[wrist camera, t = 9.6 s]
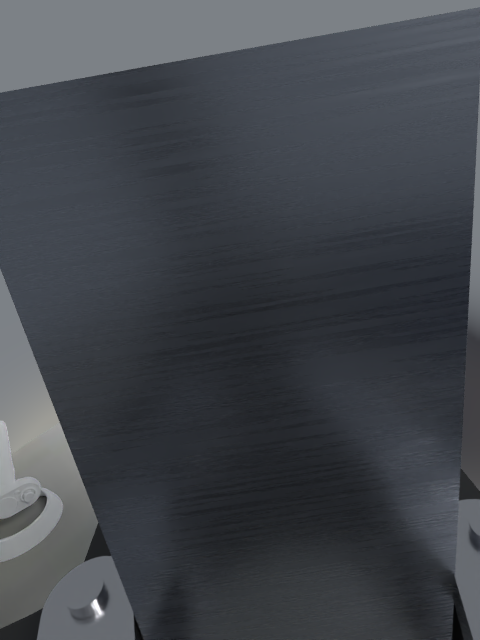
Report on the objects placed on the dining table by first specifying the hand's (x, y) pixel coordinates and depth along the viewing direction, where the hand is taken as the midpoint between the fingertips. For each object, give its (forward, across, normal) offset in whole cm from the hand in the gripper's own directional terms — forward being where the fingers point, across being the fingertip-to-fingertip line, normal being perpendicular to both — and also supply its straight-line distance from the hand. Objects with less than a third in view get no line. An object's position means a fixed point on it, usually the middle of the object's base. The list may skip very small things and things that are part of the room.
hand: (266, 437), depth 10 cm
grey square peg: (-3, 0, +9) cm, 9 cm away
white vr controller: (+20, +24, +21) cm, 38 cm away
